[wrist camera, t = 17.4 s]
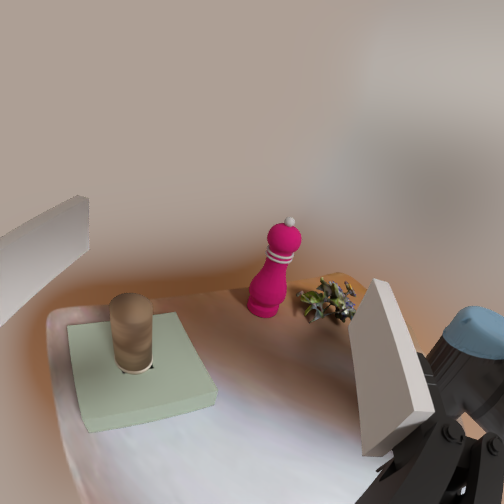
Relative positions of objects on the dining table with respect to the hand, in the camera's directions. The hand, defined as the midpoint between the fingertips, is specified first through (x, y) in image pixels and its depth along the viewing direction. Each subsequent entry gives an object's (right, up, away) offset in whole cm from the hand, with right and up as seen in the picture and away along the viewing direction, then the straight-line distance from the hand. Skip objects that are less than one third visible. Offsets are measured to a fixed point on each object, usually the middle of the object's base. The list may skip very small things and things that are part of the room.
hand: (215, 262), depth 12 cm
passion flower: (+16, -14, +48) cm, 53 cm away
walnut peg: (-15, -17, +25) cm, 34 cm away
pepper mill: (+4, -11, +47) cm, 48 cm away
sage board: (-15, -17, +25) cm, 34 cm away
